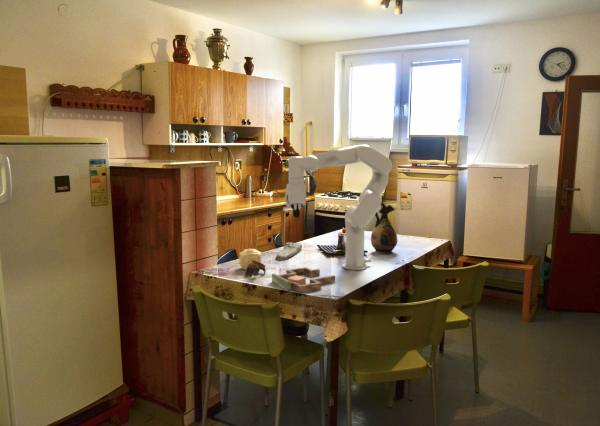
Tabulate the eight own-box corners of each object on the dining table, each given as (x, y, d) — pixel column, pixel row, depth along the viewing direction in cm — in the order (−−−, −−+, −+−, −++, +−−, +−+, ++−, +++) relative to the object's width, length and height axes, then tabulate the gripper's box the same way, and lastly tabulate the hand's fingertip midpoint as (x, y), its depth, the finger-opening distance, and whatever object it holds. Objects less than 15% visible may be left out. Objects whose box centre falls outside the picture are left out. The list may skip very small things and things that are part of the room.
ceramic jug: (395, 249, 298) (396, 200, 294) (398, 255, 283) (399, 203, 279) (367, 249, 300) (368, 200, 295) (368, 255, 285) (369, 203, 280)
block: (295, 283, 229) (295, 275, 228) (305, 286, 225) (305, 277, 224) (287, 286, 224) (287, 278, 224) (297, 289, 220) (297, 280, 220)
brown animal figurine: (242, 274, 246) (249, 259, 248) (259, 281, 248) (266, 266, 249) (245, 274, 234) (252, 258, 236) (263, 282, 236) (270, 266, 238)
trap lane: (311, 272, 248) (311, 264, 247) (342, 285, 225) (342, 276, 224) (266, 279, 235) (266, 271, 235) (293, 294, 212) (293, 285, 212)
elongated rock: (271, 262, 274) (288, 264, 272) (271, 253, 273) (288, 255, 270) (289, 246, 307) (305, 248, 305) (289, 238, 306) (305, 239, 303)
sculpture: (240, 272, 248) (239, 251, 246) (238, 266, 259) (238, 246, 258) (262, 271, 250) (262, 250, 248) (260, 265, 261) (259, 245, 260)
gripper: (305, 180, 254) (305, 215, 256) (279, 181, 246) (279, 217, 249) (312, 181, 247) (312, 217, 250) (286, 182, 240) (286, 219, 242)
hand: (296, 217), depth 249 cm, fingers closed
